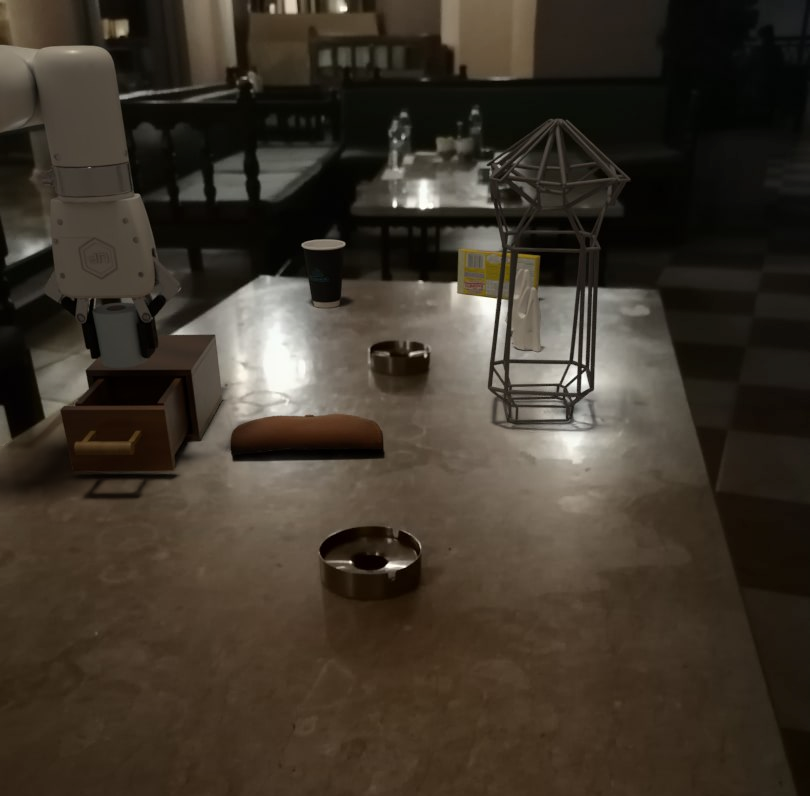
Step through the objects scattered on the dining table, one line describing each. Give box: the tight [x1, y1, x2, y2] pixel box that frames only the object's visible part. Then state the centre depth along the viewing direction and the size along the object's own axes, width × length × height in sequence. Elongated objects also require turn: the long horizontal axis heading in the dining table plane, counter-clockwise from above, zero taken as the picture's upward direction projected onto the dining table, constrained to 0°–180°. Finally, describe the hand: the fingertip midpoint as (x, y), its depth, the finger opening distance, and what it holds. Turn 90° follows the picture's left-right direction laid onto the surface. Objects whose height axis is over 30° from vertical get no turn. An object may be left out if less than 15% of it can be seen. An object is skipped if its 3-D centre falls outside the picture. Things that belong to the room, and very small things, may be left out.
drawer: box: [60, 376, 192, 472], centre depth 104 cm, size 18×11×7 cm, turn 179°
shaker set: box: [504, 269, 542, 353], centre depth 144 cm, size 12×4×11 cm, turn 3°
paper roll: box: [92, 302, 148, 368], centre depth 101 cm, size 5×5×6 cm
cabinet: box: [85, 334, 223, 442], centre depth 116 cm, size 15×13×9 cm
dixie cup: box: [301, 239, 346, 309], centre depth 166 cm, size 8×8×11 cm
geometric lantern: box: [486, 118, 632, 424], centre depth 110 cm, size 16×16×35 cm
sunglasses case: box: [230, 413, 385, 457], centre depth 109 cm, size 18×7×7 cm
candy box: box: [456, 248, 541, 300], centre depth 170 cm, size 16×2×8 cm, turn 60°
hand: (123, 353), depth 102 cm, fingers closed on paper roll, 5 cm apart
